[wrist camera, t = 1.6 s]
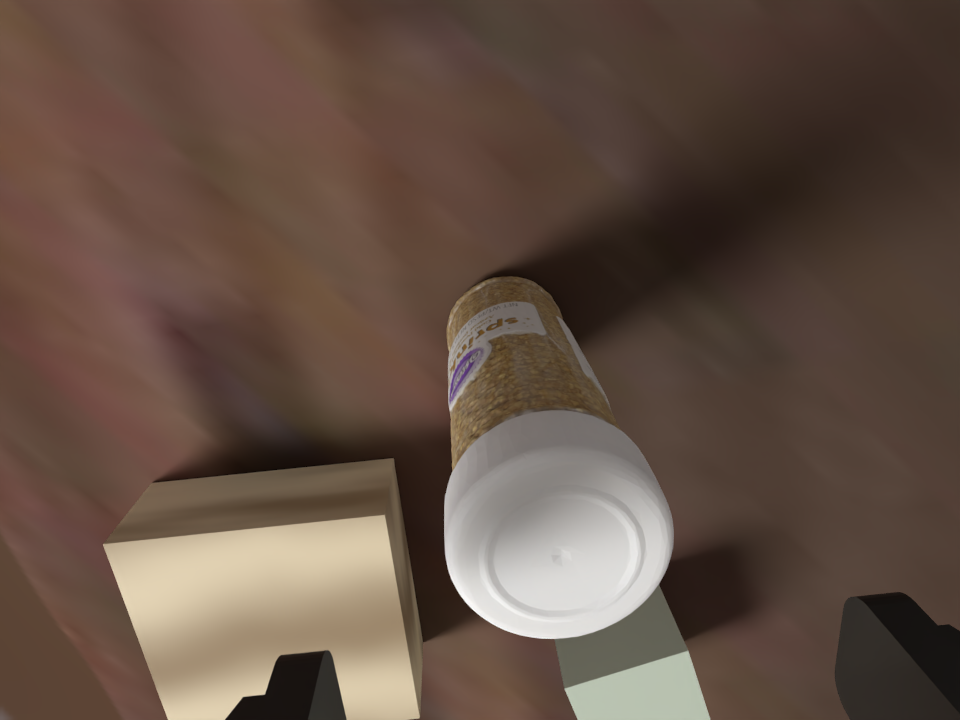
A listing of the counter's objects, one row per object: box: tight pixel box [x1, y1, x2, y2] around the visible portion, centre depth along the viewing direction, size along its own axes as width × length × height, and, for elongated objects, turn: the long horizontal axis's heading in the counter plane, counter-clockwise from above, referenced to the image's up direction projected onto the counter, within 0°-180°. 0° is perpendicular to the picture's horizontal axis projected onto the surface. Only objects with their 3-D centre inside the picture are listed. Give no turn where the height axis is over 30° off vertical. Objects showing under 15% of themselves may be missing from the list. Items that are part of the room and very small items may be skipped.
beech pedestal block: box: [103, 458, 423, 720], centre depth 26 cm, size 10×10×4 cm
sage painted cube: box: [555, 585, 710, 720], centre depth 28 cm, size 5×5×5 cm
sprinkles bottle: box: [444, 276, 674, 639], centre depth 19 cm, size 5×5×13 cm
